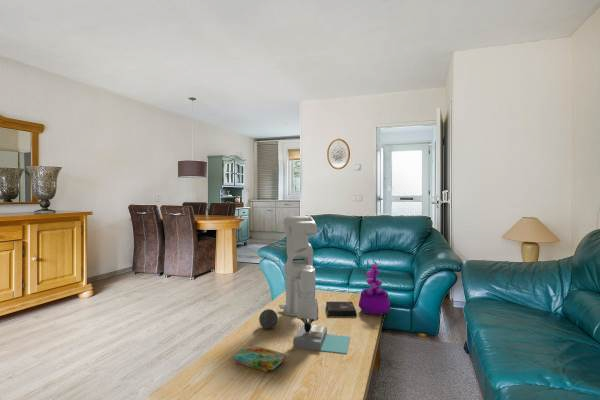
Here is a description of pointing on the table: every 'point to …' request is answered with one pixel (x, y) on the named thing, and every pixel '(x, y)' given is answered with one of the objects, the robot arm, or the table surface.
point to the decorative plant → (374, 295)
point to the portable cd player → (341, 309)
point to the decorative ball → (268, 319)
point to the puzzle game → (259, 358)
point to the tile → (317, 331)
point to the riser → (308, 340)
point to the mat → (336, 344)
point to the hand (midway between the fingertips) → (307, 331)
